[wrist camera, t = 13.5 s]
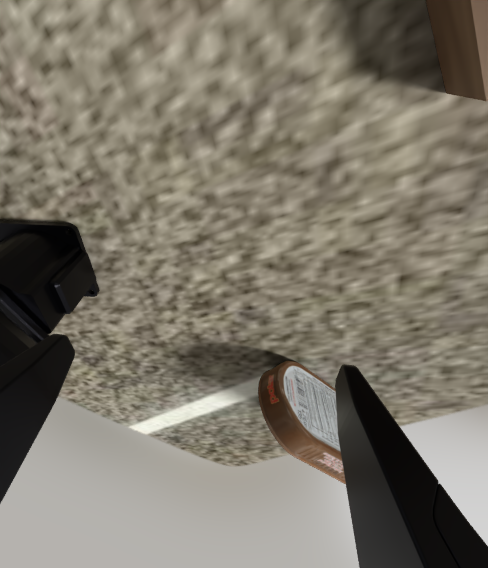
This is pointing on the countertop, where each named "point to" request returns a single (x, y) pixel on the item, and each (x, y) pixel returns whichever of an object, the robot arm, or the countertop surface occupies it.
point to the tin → (302, 416)
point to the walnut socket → (462, 45)
